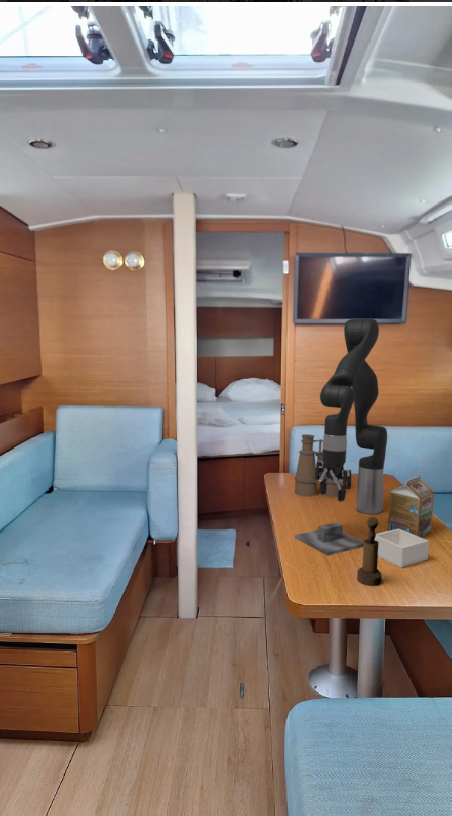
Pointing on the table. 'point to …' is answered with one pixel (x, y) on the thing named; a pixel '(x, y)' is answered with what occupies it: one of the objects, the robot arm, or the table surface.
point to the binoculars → (311, 470)
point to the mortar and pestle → (370, 557)
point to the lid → (330, 539)
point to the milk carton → (411, 508)
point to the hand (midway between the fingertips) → (331, 497)
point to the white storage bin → (402, 547)
